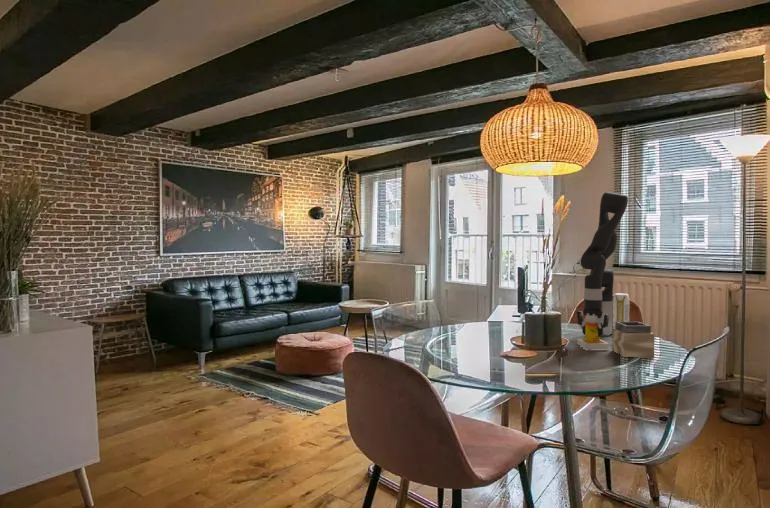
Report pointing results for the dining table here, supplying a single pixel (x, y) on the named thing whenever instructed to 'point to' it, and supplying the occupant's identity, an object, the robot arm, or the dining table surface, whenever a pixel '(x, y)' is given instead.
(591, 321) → the beer can
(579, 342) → the low collar
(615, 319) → the juice carton
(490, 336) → the dining table surface
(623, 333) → the stand
